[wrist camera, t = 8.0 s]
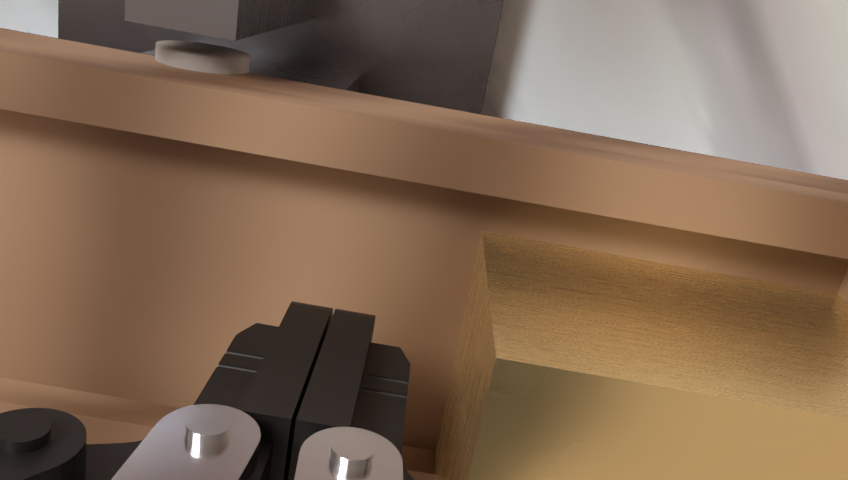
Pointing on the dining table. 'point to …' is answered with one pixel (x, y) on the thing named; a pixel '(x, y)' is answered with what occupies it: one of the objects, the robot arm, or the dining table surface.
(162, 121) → the balance beam
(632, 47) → the dining table surface
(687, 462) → the block
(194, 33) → the pivot stand
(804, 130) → the dining table surface
